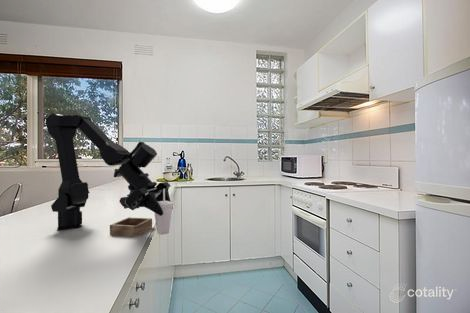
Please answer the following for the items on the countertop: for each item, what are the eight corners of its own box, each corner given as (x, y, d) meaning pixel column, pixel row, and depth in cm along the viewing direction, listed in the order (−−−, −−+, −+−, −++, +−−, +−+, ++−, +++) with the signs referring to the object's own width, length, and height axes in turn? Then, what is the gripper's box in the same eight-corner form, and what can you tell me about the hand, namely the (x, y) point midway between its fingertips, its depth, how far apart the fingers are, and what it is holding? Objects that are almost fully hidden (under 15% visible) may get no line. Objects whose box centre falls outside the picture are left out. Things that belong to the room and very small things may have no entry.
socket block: (109, 234, 73) (109, 225, 73) (128, 225, 83) (128, 217, 82) (136, 236, 72) (136, 226, 72) (152, 227, 81) (152, 218, 81)
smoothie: (177, 230, 77) (177, 188, 77) (165, 237, 71) (165, 191, 71) (161, 228, 79) (160, 187, 79) (148, 234, 73) (147, 190, 73)
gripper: (137, 190, 87) (164, 221, 85) (99, 199, 69) (133, 239, 67) (156, 169, 85) (184, 200, 84) (123, 173, 67) (158, 212, 65)
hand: (167, 212), depth 75 cm, fingers closed on smoothie, 6 cm apart
